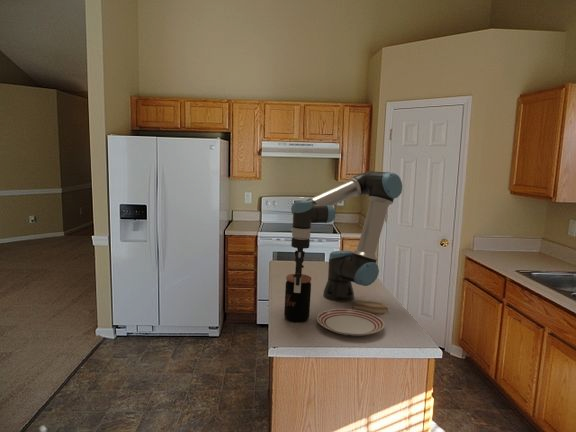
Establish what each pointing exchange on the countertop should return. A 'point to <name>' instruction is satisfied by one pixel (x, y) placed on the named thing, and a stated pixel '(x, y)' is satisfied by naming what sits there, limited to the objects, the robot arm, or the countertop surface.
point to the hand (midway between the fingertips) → (297, 287)
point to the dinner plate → (350, 322)
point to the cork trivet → (370, 307)
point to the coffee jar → (297, 299)
